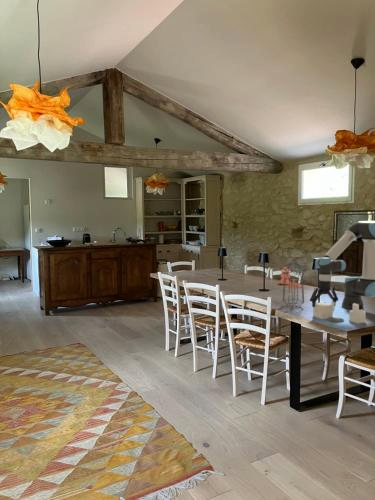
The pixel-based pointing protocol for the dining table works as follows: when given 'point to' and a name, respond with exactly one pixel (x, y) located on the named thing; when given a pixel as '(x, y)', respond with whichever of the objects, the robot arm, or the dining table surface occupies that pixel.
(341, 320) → the coaster
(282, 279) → the ceramic vessels
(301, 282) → the geometric lantern
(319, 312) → the cream cube
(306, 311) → the dining table surface
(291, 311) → the dining table surface
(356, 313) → the medicine bottle
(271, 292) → the dining table surface
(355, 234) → the robot arm
